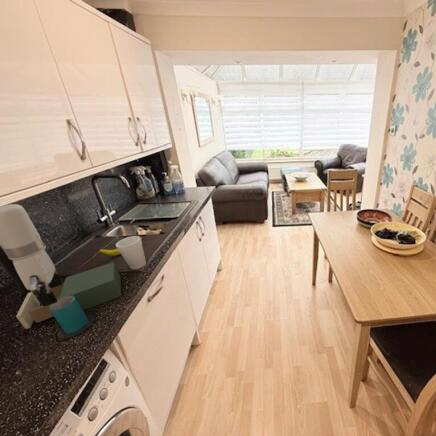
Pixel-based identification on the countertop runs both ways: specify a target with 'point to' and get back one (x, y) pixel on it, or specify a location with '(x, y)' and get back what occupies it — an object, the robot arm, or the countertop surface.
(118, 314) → the countertop surface
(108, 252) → the banana
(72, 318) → the can
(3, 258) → the wine bottle
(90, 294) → the cabinet
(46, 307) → the drawer
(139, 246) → the foam cup
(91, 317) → the coaster
